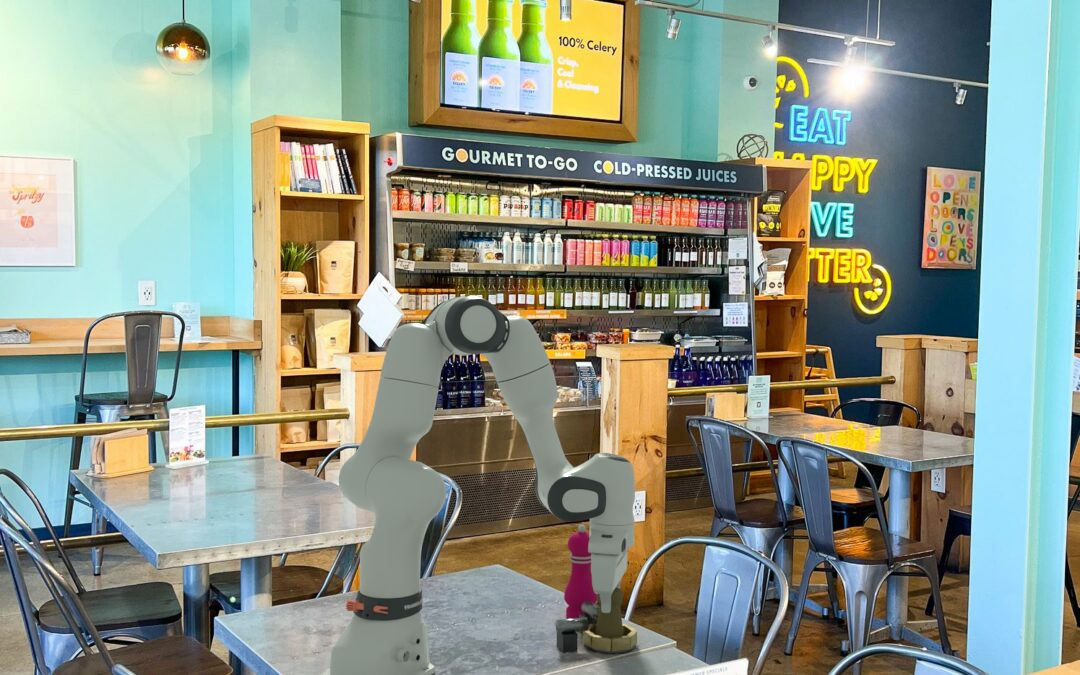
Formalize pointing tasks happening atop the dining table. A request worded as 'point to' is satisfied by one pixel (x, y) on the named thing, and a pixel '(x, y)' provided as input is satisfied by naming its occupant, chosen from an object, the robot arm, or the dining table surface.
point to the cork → (611, 617)
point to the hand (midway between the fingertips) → (610, 605)
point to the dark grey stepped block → (570, 633)
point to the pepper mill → (579, 574)
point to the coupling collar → (610, 641)
